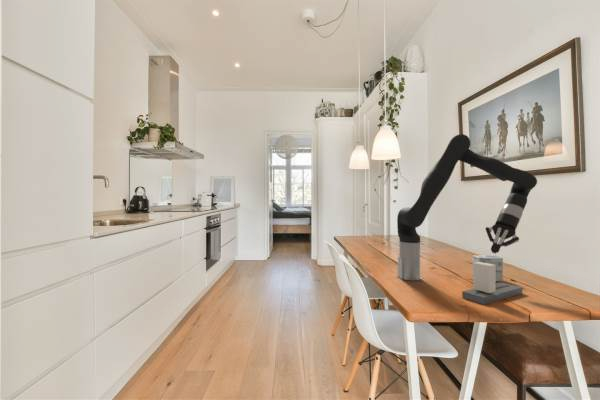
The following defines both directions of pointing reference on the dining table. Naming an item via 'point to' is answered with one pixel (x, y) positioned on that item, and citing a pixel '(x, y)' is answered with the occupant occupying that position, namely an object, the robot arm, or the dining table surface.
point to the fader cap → (484, 277)
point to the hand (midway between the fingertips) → (493, 252)
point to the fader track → (499, 294)
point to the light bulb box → (492, 260)
